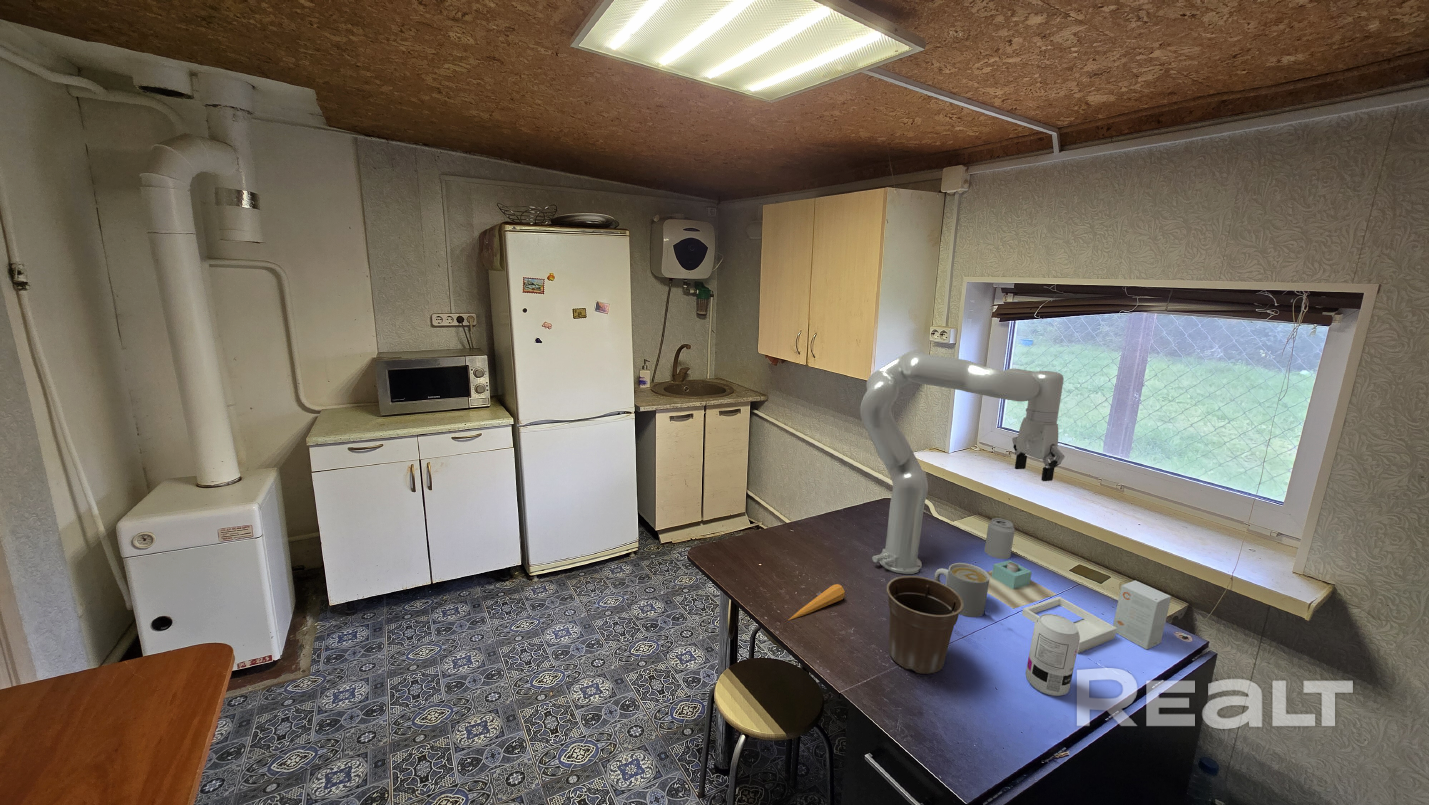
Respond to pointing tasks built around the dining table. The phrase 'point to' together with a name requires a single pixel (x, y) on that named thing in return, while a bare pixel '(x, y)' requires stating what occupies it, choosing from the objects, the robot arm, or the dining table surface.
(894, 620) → the plant pot
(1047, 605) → the tray
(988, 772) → the dining table surface
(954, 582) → the coffee mug
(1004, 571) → the collar
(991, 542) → the can
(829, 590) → the carrot
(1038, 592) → the stake base
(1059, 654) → the supplement can
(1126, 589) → the small box
